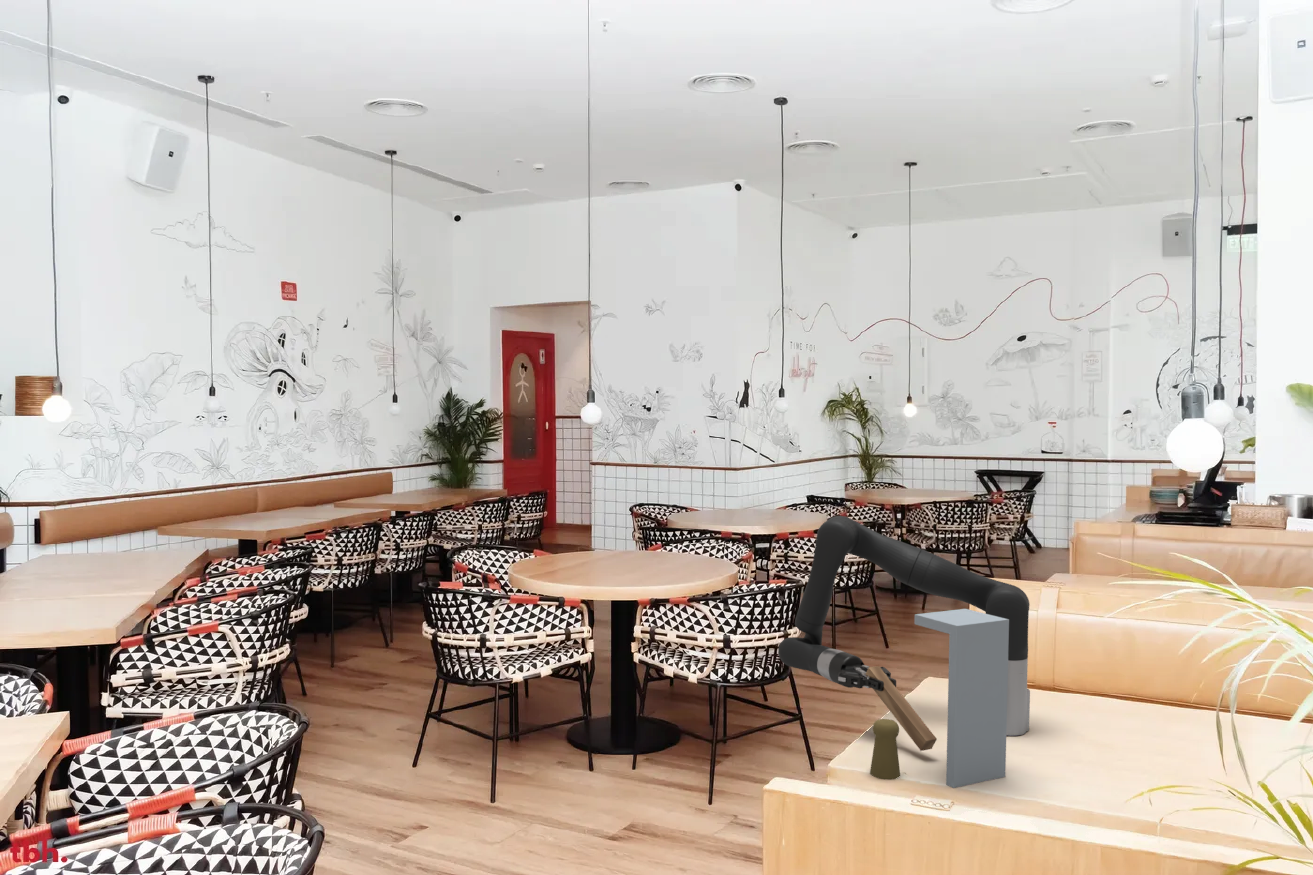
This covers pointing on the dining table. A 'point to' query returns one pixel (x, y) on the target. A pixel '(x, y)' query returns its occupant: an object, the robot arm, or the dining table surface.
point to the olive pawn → (885, 750)
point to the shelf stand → (974, 693)
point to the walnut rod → (903, 711)
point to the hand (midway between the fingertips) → (888, 685)
